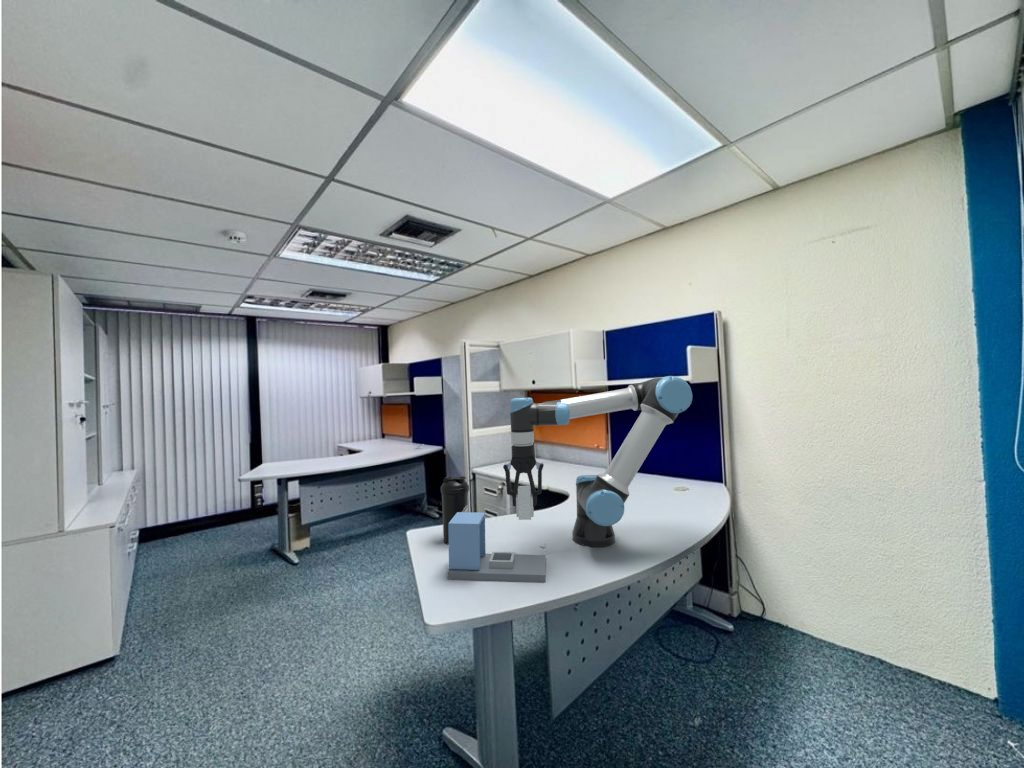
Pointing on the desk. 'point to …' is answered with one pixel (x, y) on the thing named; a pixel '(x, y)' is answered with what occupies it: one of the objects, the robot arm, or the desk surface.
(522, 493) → the steel block
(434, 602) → the desk surface
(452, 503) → the water bottle
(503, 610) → the desk surface
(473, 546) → the housing cover
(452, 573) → the housing base
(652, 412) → the robot arm
